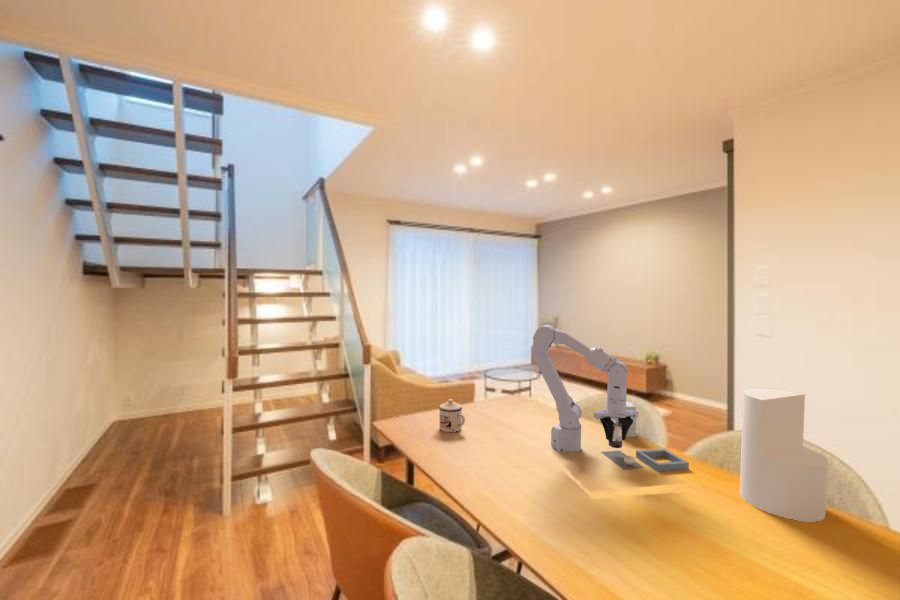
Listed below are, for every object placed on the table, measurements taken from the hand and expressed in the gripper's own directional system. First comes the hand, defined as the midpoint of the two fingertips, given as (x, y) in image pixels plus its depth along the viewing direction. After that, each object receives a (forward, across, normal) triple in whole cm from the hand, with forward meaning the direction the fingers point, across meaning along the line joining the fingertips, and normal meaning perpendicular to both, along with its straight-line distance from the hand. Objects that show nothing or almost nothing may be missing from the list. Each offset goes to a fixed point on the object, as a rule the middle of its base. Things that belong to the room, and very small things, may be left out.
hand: (615, 439), depth 130 cm
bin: (+6, +11, -8) cm, 15 cm away
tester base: (+6, 0, -4) cm, 7 cm away
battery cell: (+2, 0, 0) cm, 2 cm away
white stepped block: (+6, +28, -31) cm, 42 cm away
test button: (+5, 0, -8) cm, 9 cm away
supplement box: (+7, +14, +18) cm, 24 cm away
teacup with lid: (+7, -48, +34) cm, 59 cm away
